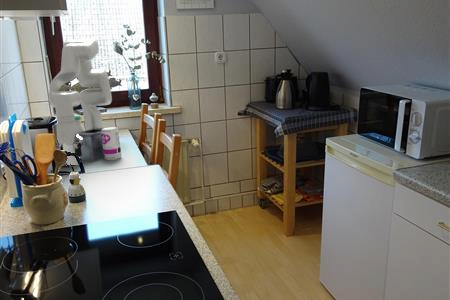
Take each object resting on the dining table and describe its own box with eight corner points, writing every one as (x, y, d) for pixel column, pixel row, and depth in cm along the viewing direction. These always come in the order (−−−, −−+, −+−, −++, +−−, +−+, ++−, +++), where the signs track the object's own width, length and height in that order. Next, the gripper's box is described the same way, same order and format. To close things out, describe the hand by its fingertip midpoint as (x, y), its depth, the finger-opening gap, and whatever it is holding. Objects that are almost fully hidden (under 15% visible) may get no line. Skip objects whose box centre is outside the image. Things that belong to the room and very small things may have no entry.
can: (75, 166, 185) (71, 141, 182) (63, 166, 187) (59, 141, 184) (83, 162, 192) (79, 138, 189) (71, 162, 193) (67, 138, 190)
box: (76, 159, 198) (72, 134, 195) (99, 151, 212) (96, 127, 209) (94, 161, 193) (90, 134, 190) (117, 153, 207) (113, 128, 204)
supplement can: (111, 161, 191) (107, 130, 187) (101, 159, 196) (97, 129, 192) (125, 157, 197) (121, 127, 193) (114, 155, 202) (110, 126, 198)
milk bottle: (86, 155, 205) (80, 117, 200) (71, 156, 205) (65, 118, 200) (91, 152, 212) (85, 114, 208) (77, 152, 213) (71, 115, 208)
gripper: (46, 120, 185) (52, 156, 189) (73, 121, 177) (78, 158, 181) (59, 118, 191) (65, 152, 195) (85, 118, 183) (91, 154, 187)
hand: (71, 155), depth 188 cm, fingers open, 9 cm apart
